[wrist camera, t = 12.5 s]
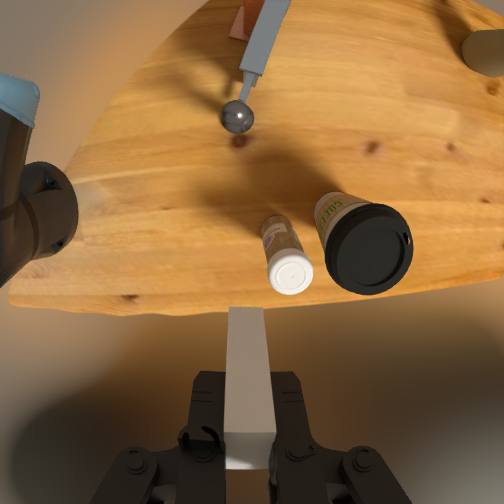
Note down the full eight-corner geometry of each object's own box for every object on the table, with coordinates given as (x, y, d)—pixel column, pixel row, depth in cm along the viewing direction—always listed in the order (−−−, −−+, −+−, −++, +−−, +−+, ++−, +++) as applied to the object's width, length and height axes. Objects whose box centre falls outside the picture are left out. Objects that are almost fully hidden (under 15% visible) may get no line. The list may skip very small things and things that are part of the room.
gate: (250, 110, 35) (255, 101, 23) (232, 104, 35) (227, 93, 22) (288, 8, 29) (308, -39, 17) (270, 2, 29) (283, -47, 16)
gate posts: (248, 137, 37) (252, 144, 22) (198, 123, 36) (170, 122, 21) (289, 21, 30) (317, -33, 16) (241, 7, 29) (241, -54, 15)
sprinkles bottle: (264, 211, 41) (275, 251, 29) (296, 218, 42) (320, 260, 29) (257, 242, 43) (263, 292, 30) (288, 248, 43) (306, 299, 31)
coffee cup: (287, 203, 41) (310, 246, 27) (346, 165, 39) (398, 189, 25) (322, 257, 44) (354, 316, 30) (376, 222, 42) (429, 267, 28)
